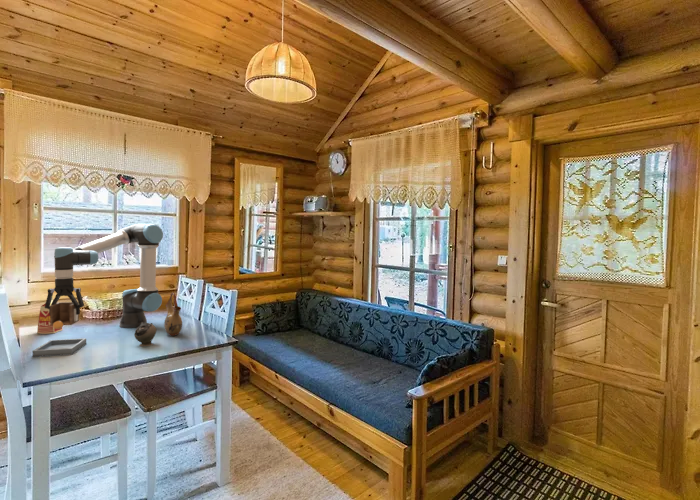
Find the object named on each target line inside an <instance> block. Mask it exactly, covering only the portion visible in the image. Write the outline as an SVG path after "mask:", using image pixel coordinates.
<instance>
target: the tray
mask: <svg viewBox="0 0 700 500" xmlns="http://www.w3.org/2000/svg"><path fill="white" fill-rule="evenodd" d="M85 345H87V338H71V339H69V338H67V339H51V340H48V341H47V342H45V343H44V344H42V345H40V346H38V347H36V348H34V349H33V350H32V353H31V354H32V358H40V357H39V356H41V357H54V356H69V355H71V356H72V355H74V354H75V353H76V352H77V351H79V350H80V349H81V348H83V347H85Z"/></svg>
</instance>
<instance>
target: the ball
mask: <svg viewBox="0 0 700 500" xmlns="http://www.w3.org/2000/svg"><path fill="white" fill-rule="evenodd" d="M63 326H64V325H63V323H62V322H61V321H56V322H55V323H54V324H53V327H54V328H55V329H60V328H62V329H63Z"/></svg>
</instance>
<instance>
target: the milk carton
mask: <svg viewBox="0 0 700 500" xmlns="http://www.w3.org/2000/svg"><path fill="white" fill-rule="evenodd" d="M53 300H54V298H53V297H52V300H51V304H52V302H53ZM45 304H46V301H45V302H44V303H43V304H42V305H40V307H39V315H38V319H37V320H38V322H37V328H36V329H37V332H36V333H37V334H42V335H46V334H56V333H57V332H61V331H63V327H62V328H60V329H55V328H54V327H53V326H51V325H50V315H49V309H47V308H45ZM51 304H50V305H51Z"/></svg>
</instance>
